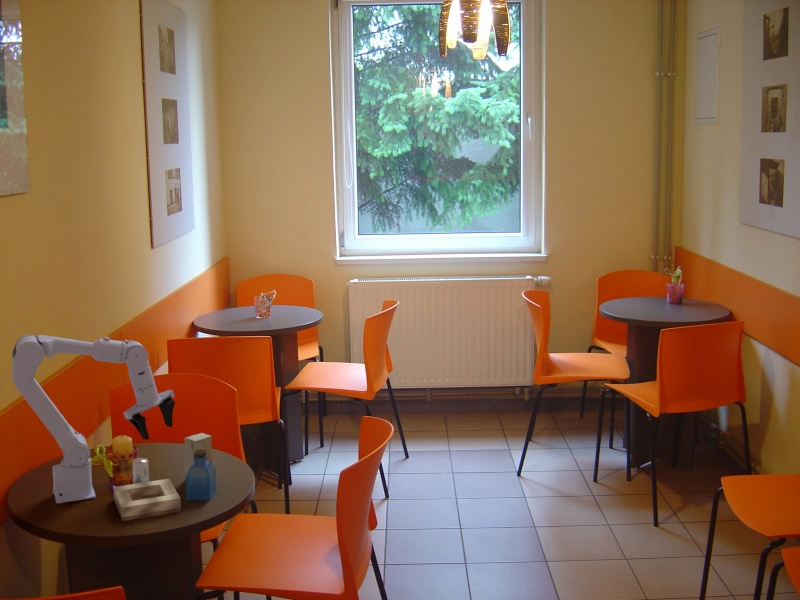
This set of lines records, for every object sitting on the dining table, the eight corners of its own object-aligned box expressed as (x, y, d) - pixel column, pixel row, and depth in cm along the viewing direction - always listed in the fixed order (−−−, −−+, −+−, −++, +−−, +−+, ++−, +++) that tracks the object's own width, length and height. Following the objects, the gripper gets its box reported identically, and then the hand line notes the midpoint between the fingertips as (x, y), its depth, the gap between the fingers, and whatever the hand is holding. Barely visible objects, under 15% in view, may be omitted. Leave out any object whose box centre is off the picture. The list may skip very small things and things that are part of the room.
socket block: (122, 521, 206) (121, 507, 206) (113, 500, 219) (113, 487, 218) (180, 511, 212) (180, 498, 212) (169, 491, 225) (168, 478, 224)
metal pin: (134, 489, 226) (133, 464, 224) (132, 484, 229) (131, 459, 228) (150, 487, 227) (149, 462, 226) (147, 481, 231) (146, 457, 230)
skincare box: (194, 484, 229) (193, 441, 227) (184, 480, 232) (183, 437, 230) (213, 477, 234) (212, 435, 232) (202, 474, 237) (201, 432, 235)
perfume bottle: (192, 490, 226) (191, 447, 224) (215, 490, 226) (214, 447, 223) (186, 499, 220) (184, 455, 218) (210, 500, 219) (208, 456, 217)
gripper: (129, 398, 217) (143, 446, 220) (175, 376, 227) (188, 422, 231) (114, 395, 221) (128, 442, 225) (160, 374, 231) (173, 419, 235)
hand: (157, 432), depth 228 cm, fingers open, 7 cm apart
